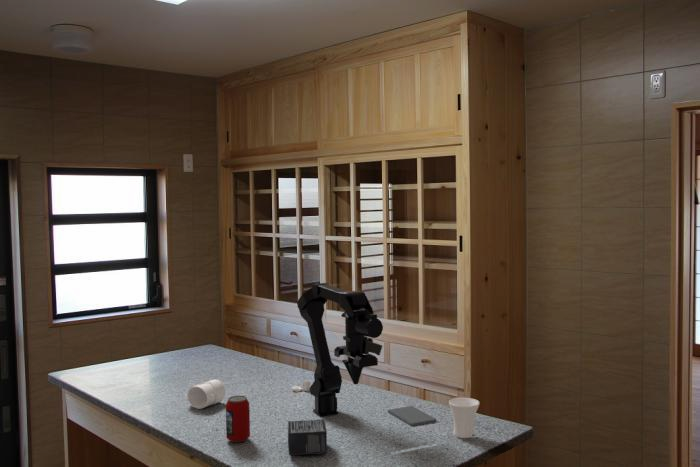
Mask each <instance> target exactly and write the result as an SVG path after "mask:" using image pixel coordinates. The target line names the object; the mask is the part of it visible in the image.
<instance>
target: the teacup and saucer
mask: <svg viewBox="0 0 700 467" xmlns="http://www.w3.org/2000/svg"><path fill="white" fill-rule="evenodd" d="M311 383H312V381H311V379H302V380H301V385H302V386H295V385H294V386H292V387H291V390H292V392H296V393H297V394H303V395H306V394H310V387H311ZM302 391H303V392H302Z"/></svg>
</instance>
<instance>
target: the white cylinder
mask: <svg viewBox="0 0 700 467" xmlns="http://www.w3.org/2000/svg"><path fill="white" fill-rule="evenodd" d="M224 385H225V384H223V382H222V381H221V380H219V379H211V380H208V381H205V382H201V383H198V384H195V385H193V386H192V387H189V389H188V391H187V400H188V402H189V404H190V406H192V407H193V408H195V409H198V410H199V409H200V410H201V409H204V408H206V407H209V406H214V405H216V404H218V403H221V402H223V401H224V400H225V397H226V388H225V386H224Z"/></svg>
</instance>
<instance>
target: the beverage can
mask: <svg viewBox="0 0 700 467" xmlns="http://www.w3.org/2000/svg"><path fill="white" fill-rule="evenodd" d="M250 417H251V415H250V402H249V400H248V398H247V396H246V395H233V396H229V397H228V398H227V401H226V403H225V423H226V424H225V427H226V428H225V431H226V439H227V440H229V441H230V442H233V443H242V442H245V441H247V440H248V439H249V438H250V436H251V420H250V419H251V418H250Z"/></svg>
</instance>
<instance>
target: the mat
mask: <svg viewBox="0 0 700 467" xmlns="http://www.w3.org/2000/svg"><path fill="white" fill-rule="evenodd" d="M387 413H388V414H389V415H391V416H393V417H395V418H397V419H399V420H401V421H402V422H403V423H405V424H406V425H408V426H410V427H414V426H419V425H424V424H425V425H426V424H429V423H430V424H431V423H436V422H437V418H435V417H434V416H432V415H430V414H427V413H425V412H424V411H423V410H421V409H419V408H417V407H415V406H412V405H408V406H404V407H397V408H391V409H387Z"/></svg>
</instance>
